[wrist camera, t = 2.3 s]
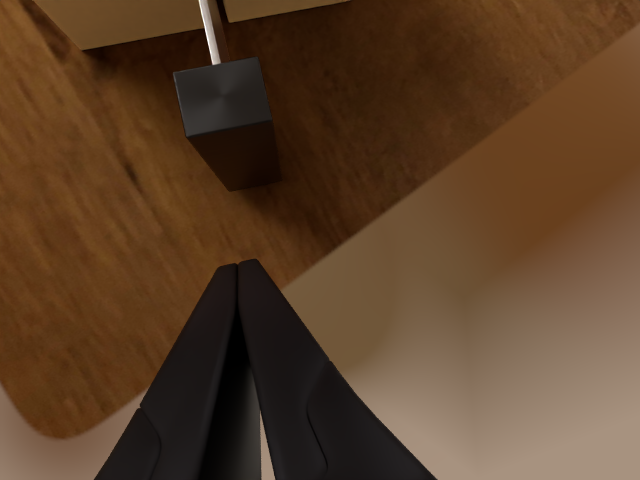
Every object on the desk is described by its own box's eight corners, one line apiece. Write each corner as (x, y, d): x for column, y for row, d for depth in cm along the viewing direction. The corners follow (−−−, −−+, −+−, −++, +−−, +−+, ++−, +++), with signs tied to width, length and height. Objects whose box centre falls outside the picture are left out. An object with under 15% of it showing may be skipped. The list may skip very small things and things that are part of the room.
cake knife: (282, 180, 22) (272, 120, 14) (228, 192, 22) (185, 138, 14) (243, 10, 23) (212, -146, 15) (191, 19, 23) (128, -133, 14)
